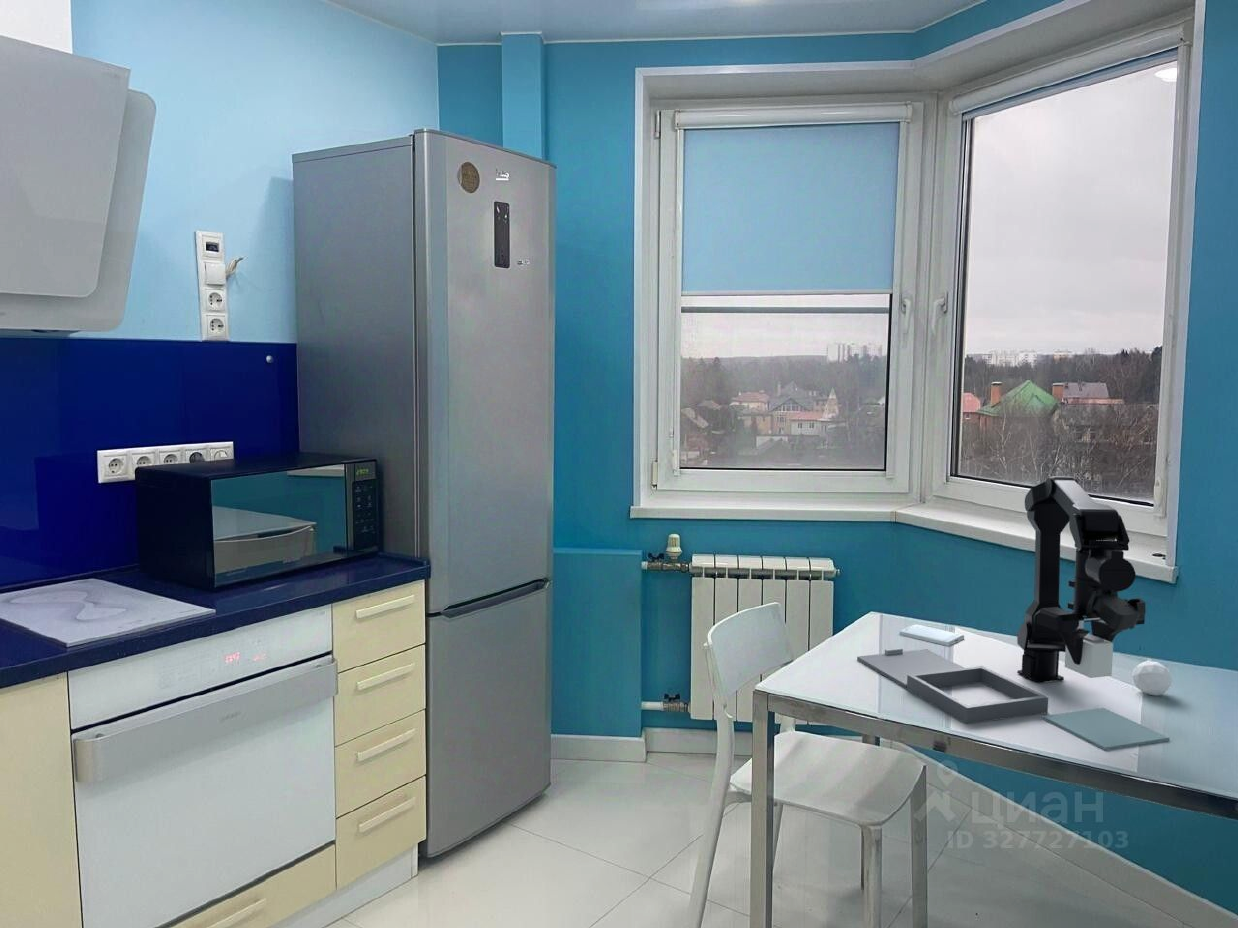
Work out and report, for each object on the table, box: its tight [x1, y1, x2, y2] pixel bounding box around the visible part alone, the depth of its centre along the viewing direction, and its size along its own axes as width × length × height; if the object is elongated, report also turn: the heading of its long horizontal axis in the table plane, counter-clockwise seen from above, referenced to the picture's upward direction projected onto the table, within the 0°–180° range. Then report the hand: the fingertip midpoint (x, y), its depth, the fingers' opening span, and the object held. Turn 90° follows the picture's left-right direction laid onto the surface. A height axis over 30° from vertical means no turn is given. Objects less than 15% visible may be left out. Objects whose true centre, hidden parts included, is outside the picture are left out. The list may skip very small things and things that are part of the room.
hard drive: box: [899, 623, 965, 647], centre depth 207 cm, size 2×8×12 cm
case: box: [856, 647, 1049, 725], centre depth 175 cm, size 18×36×3 cm, turn 16°
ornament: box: [1132, 658, 1172, 696], centre depth 169 cm, size 6×7×7 cm
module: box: [1064, 633, 1114, 679], centre depth 153 cm, size 4×6×6 cm
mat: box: [1042, 707, 1170, 751], centre depth 152 cm, size 14×14×1 cm
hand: (1088, 662), depth 153 cm, fingers closed on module, 4 cm apart
